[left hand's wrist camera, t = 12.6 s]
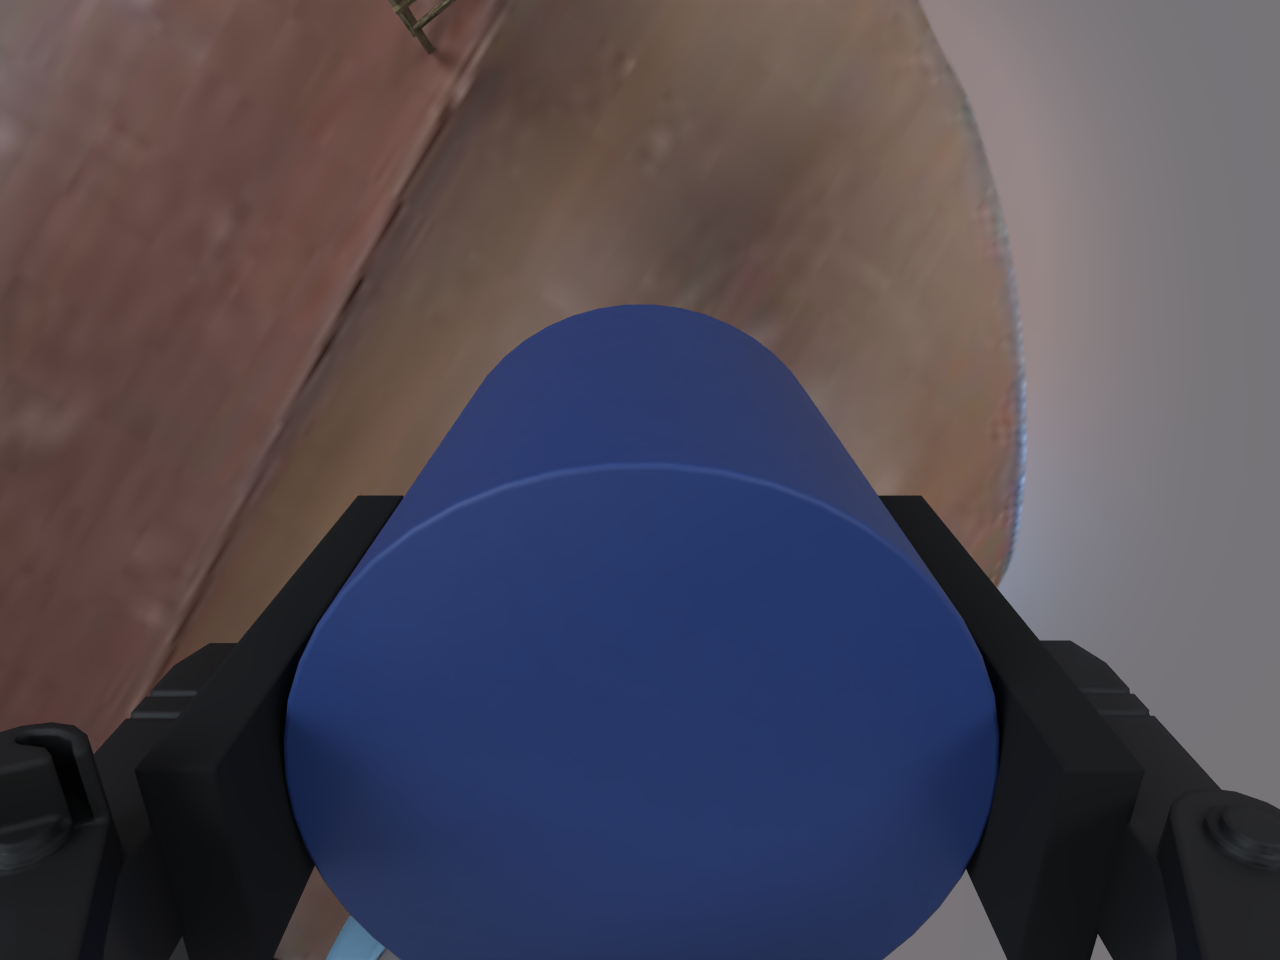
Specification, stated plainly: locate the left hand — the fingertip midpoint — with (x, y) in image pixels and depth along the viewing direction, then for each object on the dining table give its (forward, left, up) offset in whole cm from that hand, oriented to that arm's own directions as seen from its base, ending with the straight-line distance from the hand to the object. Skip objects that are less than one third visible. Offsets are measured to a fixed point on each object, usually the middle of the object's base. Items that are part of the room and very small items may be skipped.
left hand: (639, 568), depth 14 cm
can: (0, 0, -3) cm, 3 cm away
